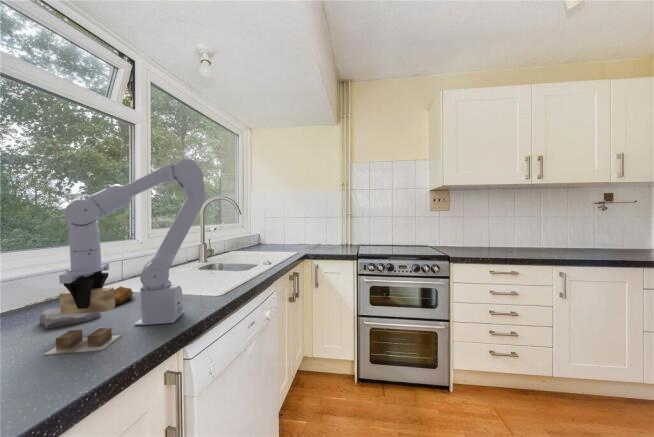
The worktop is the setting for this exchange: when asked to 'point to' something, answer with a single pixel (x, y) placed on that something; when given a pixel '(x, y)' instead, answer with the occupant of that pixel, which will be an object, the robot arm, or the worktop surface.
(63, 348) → the base with blocks
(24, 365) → the worktop surface
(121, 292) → the croissant
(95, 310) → the lintel
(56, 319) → the stone block
